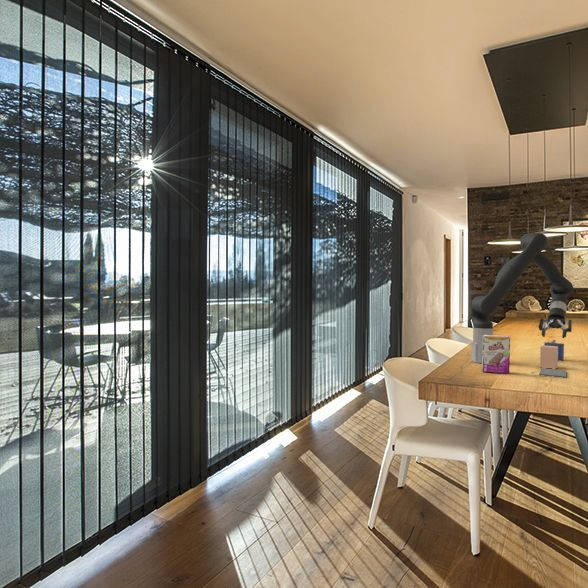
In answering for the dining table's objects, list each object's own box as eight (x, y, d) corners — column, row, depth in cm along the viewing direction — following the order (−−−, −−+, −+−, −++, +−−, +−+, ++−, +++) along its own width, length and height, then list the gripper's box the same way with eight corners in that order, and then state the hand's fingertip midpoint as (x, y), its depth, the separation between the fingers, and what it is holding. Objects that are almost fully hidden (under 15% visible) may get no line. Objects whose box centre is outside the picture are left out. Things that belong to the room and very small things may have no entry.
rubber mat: (565, 378, 200) (565, 376, 200) (539, 375, 205) (539, 373, 205) (566, 372, 214) (566, 370, 214) (541, 370, 219) (541, 368, 219)
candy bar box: (482, 372, 212) (482, 335, 212) (481, 370, 217) (482, 334, 216) (509, 374, 208) (510, 336, 208) (508, 372, 213) (509, 335, 213)
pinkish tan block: (540, 367, 225) (540, 346, 225) (542, 366, 230) (543, 345, 230) (555, 369, 221) (555, 347, 221) (557, 367, 226) (558, 346, 226)
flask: (564, 360, 247) (564, 339, 247) (563, 361, 245) (563, 340, 245) (544, 358, 253) (544, 338, 253) (543, 359, 251) (543, 339, 250)
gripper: (541, 306, 245) (536, 330, 236) (573, 307, 236) (569, 332, 227) (542, 316, 249) (538, 340, 240) (574, 317, 241) (570, 342, 232)
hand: (553, 336), depth 234 cm, fingers open, 8 cm apart
